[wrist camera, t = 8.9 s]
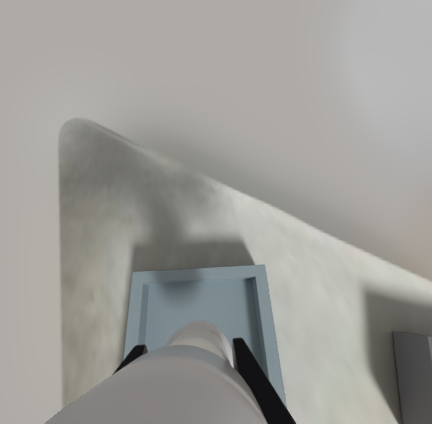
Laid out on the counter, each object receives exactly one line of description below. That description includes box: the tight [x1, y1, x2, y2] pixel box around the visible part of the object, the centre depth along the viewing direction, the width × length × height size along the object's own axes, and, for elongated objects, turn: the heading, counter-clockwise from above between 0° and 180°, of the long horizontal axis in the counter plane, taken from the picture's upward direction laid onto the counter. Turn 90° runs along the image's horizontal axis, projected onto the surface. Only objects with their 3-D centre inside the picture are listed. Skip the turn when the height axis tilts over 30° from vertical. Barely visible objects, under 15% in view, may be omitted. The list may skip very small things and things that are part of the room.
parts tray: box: [123, 265, 287, 408], centre depth 18 cm, size 12×12×3 cm
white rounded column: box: [45, 320, 268, 424], centre depth 8 cm, size 4×4×13 cm
